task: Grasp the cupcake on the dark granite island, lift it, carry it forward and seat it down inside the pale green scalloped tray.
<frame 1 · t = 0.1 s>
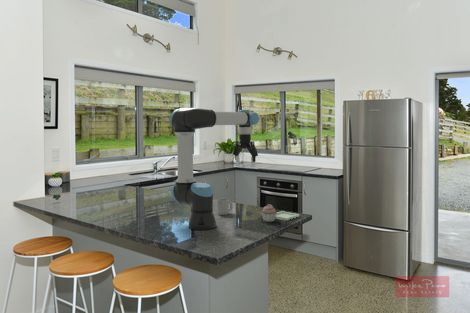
hand: (245, 166, 256), 28 cm above the counter, fingers open, 13 cm apart
cup: (225, 213, 244), on the counter
pale green scalloped tray: (284, 217, 234), on the counter
cupcake: (268, 221, 225), on the counter
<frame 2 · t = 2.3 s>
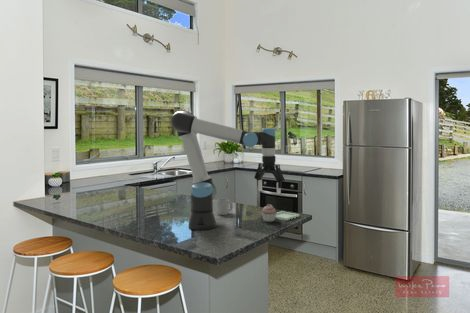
hand: (269, 192, 224), 17 cm above the counter, fingers open, 13 cm apart
nothing on the counter moved.
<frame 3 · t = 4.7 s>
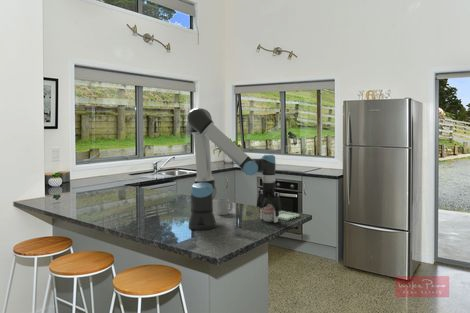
hand: (269, 220, 225), 0 cm above the counter, fingers closed on cupcake, 9 cm apart
cupcake: (268, 221, 225), on the counter, touching gripper
everything else where it was.
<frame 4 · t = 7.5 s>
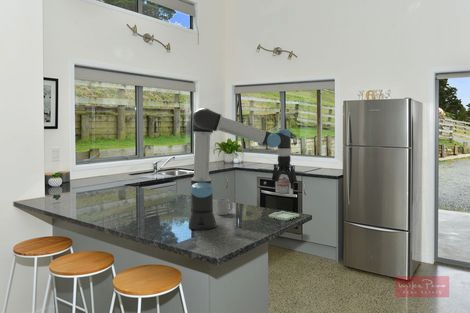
hand: (284, 193, 232), 14 cm above the counter, fingers closed on cupcake, 9 cm apart
cupcake: (284, 193, 232), point 14 cm above the counter, touching gripper
everything else where it was.
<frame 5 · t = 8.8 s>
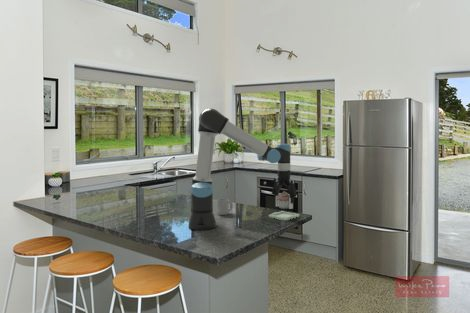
hand: (284, 207, 233), 6 cm above the counter, fingers closed on cupcake, 9 cm apart
cupcake: (284, 208, 233), point 6 cm above the counter, touching gripper
everything else where it was.
when the fingers open (3 cm above the counter, at t = 10.2 s): cupcake drops 3 cm, resting on pale green scalloped tray.
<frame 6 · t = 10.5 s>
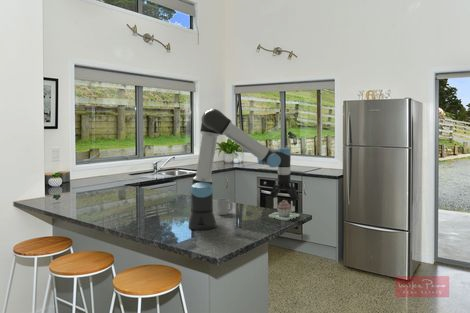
hand: (284, 209, 233), 4 cm above the counter, fingers open, 12 cm apart
cupcake: (284, 216, 233), resting on pale green scalloped tray
everything else where it was.
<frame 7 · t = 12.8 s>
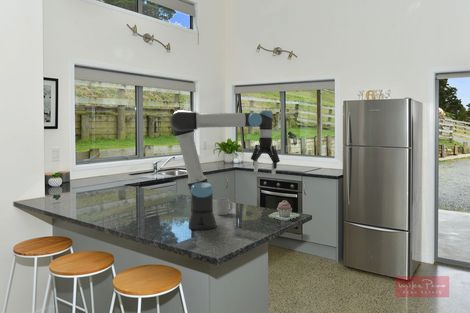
hand: (264, 173, 231), 27 cm above the counter, fingers open, 13 cm apart
nothing on the counter moved.
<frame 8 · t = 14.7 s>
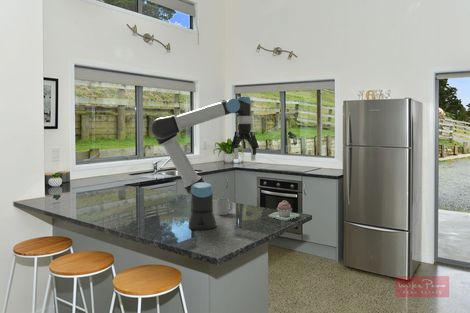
hand: (244, 159, 230), 35 cm above the counter, fingers open, 13 cm apart
nothing on the counter moved.
at the end: cupcake inside the target area on the pale green scalloped tray (0.3 cm from its centre), point 0.3 cm above the pale green scalloped tray's base; cupcake tilted 0°; the gripper is holding nothing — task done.
